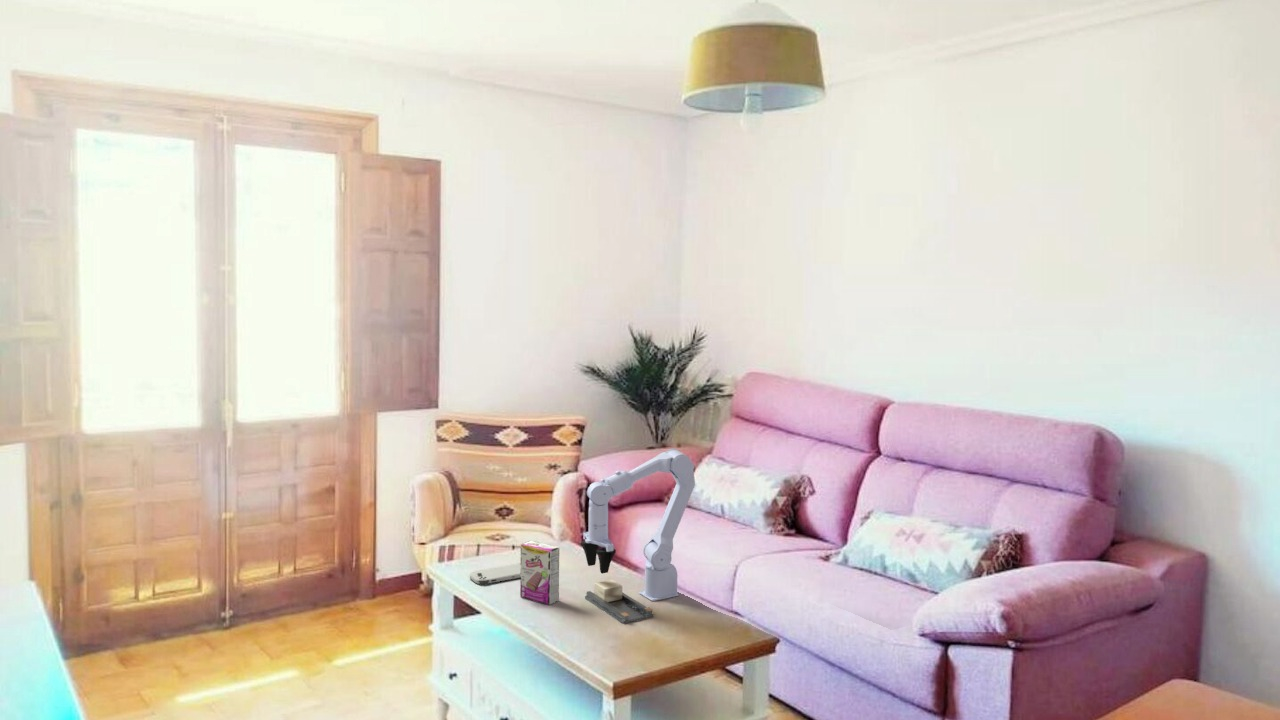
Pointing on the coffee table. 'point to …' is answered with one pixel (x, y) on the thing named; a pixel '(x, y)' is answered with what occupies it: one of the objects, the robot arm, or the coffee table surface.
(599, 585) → the block
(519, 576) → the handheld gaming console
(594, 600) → the chute
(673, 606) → the coffee table surface
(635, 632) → the coffee table surface
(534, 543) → the candy bar box
